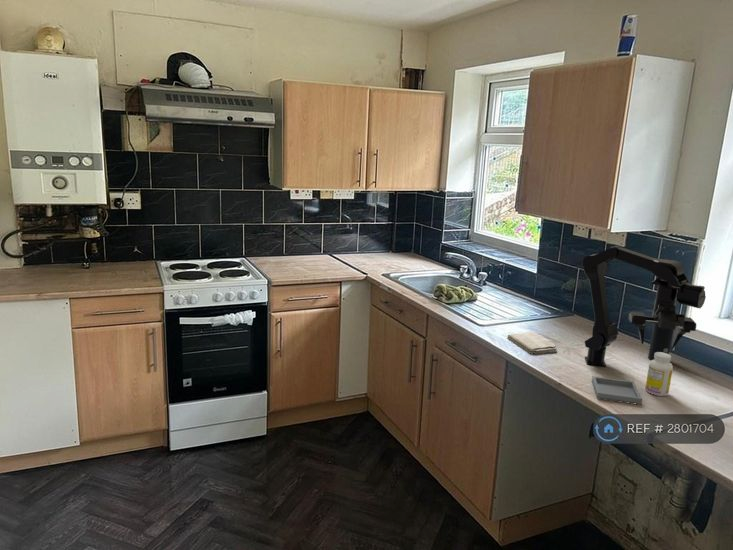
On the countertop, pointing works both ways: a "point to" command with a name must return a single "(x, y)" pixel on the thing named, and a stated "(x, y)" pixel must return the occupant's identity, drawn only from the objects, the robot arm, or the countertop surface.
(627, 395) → the tray
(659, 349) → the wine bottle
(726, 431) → the countertop surface
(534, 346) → the washcloth
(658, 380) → the supplement bottle
